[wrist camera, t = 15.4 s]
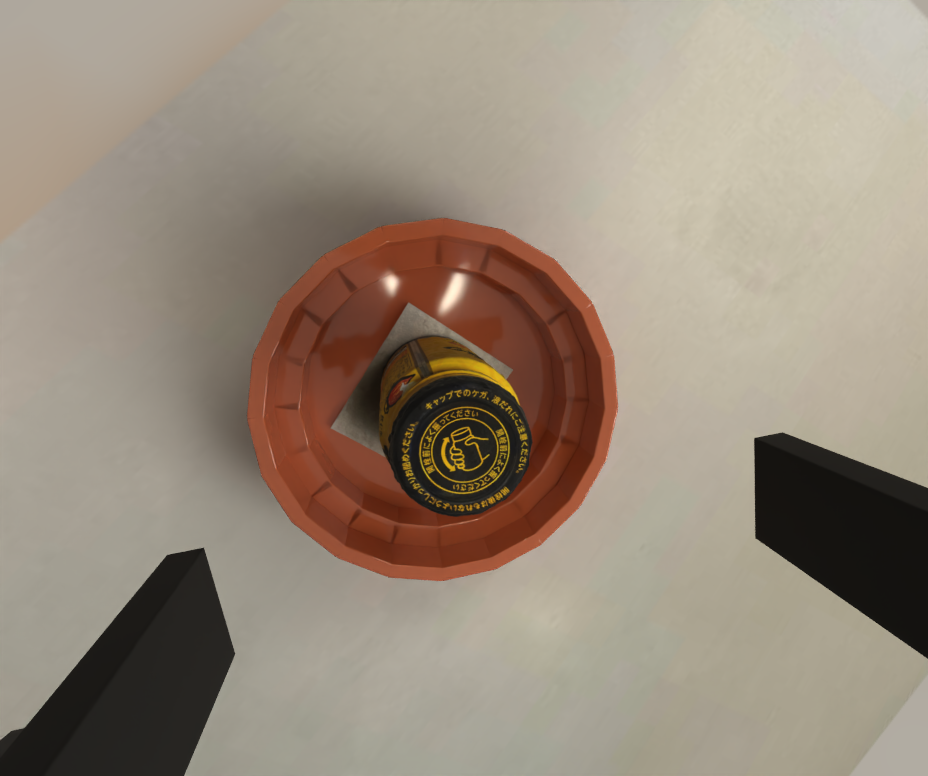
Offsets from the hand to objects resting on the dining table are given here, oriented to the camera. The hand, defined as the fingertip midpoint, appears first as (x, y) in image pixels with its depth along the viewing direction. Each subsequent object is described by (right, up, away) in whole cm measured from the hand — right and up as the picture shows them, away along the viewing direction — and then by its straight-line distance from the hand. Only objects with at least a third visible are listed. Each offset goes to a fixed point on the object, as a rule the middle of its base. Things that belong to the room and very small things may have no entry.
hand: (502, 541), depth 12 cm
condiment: (-3, +3, +18) cm, 18 cm away
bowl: (-3, +3, +18) cm, 19 cm away
